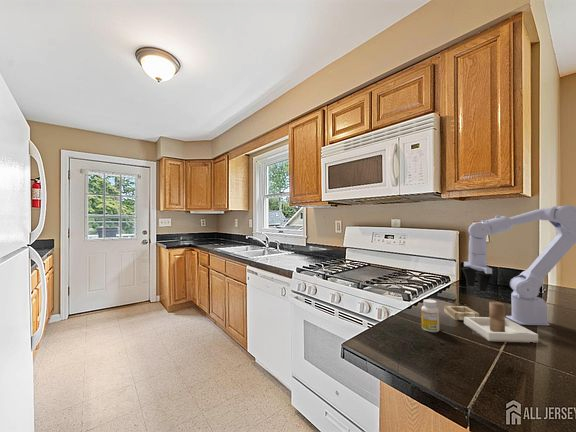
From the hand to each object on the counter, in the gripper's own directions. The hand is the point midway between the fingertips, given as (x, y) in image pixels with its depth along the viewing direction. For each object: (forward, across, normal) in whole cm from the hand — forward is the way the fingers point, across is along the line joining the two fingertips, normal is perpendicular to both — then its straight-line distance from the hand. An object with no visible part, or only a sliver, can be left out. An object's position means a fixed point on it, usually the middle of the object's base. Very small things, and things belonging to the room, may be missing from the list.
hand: (476, 288), depth 106 cm
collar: (+11, +1, -6) cm, 12 cm away
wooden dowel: (+10, +16, -3) cm, 19 cm away
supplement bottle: (+11, +15, -24) cm, 30 cm away
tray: (+10, +16, -3) cm, 20 cm away
